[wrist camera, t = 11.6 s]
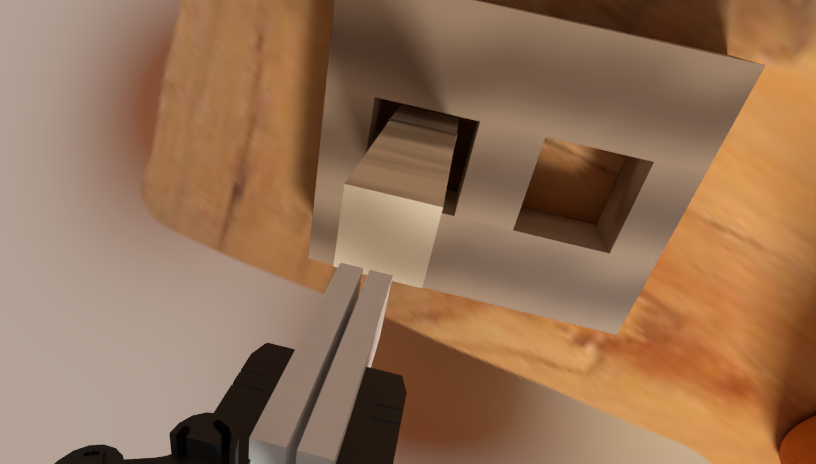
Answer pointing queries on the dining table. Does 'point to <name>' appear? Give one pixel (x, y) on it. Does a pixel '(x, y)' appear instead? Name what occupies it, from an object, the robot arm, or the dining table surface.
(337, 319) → the robot arm
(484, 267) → the board
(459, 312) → the dining table surface
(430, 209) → the peg
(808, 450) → the wine bottle
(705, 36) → the dining table surface
